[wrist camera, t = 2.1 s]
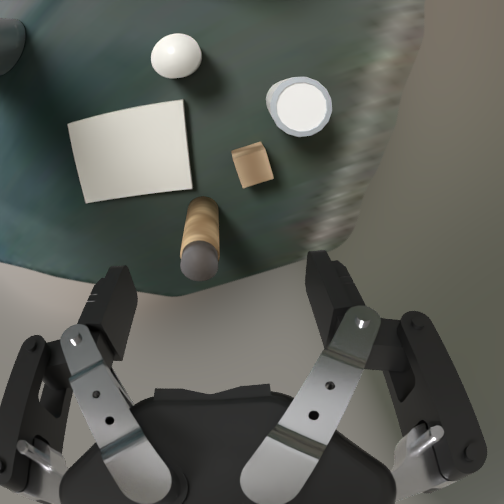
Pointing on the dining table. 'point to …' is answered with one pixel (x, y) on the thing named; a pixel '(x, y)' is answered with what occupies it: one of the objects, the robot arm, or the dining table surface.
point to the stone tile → (132, 151)
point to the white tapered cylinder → (299, 106)
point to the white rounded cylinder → (176, 56)
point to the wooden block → (252, 164)
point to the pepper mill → (201, 240)
